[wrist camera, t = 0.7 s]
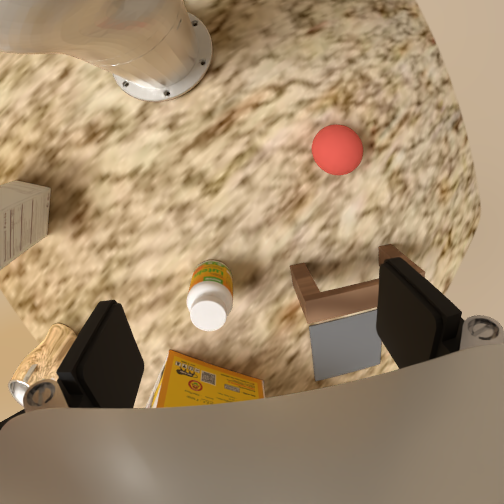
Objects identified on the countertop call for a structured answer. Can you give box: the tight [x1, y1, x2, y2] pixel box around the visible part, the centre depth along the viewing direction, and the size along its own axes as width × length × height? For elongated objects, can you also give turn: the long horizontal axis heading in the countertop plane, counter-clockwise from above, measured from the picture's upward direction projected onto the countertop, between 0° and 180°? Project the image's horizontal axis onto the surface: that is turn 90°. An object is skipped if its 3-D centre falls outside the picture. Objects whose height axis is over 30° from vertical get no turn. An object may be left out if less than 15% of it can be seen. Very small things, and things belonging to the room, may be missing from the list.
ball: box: [312, 125, 363, 175], centre depth 35 cm, size 6×6×6 cm
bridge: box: [290, 244, 425, 324], centre depth 39 cm, size 3×15×10 cm, turn 101°
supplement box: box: [0, 180, 51, 270], centre depth 31 cm, size 7×7×13 cm
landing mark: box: [309, 310, 381, 381], centre depth 49 cm, size 12×12×1 cm
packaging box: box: [145, 350, 265, 408], centre depth 39 cm, size 16×16×25 cm
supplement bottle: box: [187, 260, 233, 331], centre depth 38 cm, size 5×5×10 cm
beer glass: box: [8, 323, 77, 407], centre depth 38 cm, size 7×7×15 cm
